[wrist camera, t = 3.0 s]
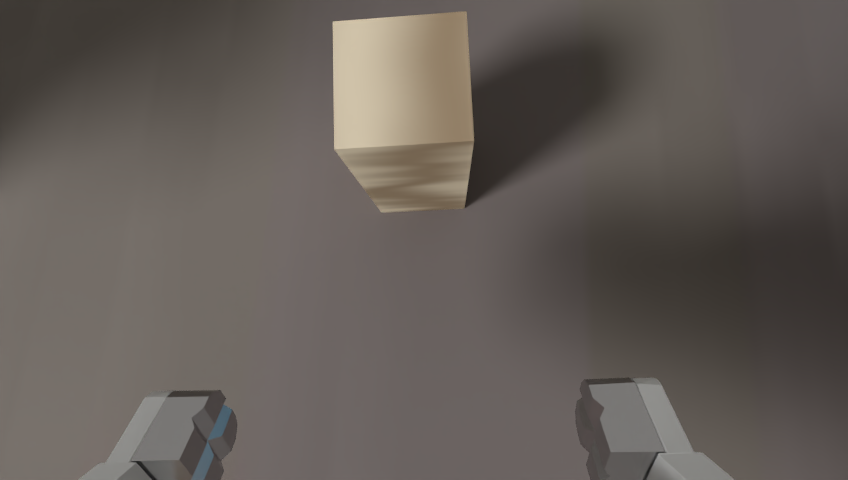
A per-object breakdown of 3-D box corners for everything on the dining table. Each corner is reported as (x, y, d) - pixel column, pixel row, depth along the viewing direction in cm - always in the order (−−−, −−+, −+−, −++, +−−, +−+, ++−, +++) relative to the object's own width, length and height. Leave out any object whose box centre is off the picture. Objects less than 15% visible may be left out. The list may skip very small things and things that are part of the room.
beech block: (381, 212, 24) (334, 149, 14) (379, 134, 25) (332, 21, 15) (464, 208, 24) (474, 141, 14) (460, 129, 25) (466, 11, 15)
